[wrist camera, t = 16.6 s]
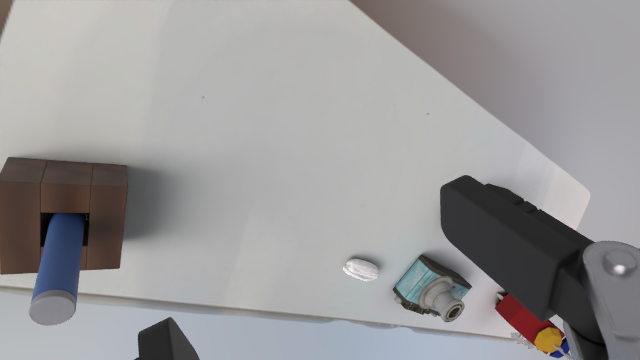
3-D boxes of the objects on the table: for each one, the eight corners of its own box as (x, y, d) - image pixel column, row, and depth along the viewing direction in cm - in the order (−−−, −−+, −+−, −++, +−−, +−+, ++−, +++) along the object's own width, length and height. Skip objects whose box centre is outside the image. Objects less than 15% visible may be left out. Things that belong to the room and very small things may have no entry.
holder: (10, 244, 42) (0, 274, 38) (7, 157, 38) (-5, 181, 34) (119, 242, 47) (119, 268, 43) (126, 165, 43) (127, 186, 39)
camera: (493, 306, 76) (460, 343, 78) (459, 274, 84) (430, 308, 86) (452, 287, 66) (416, 330, 68) (418, 253, 74) (386, 292, 76)
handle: (53, 215, 42) (29, 328, 30) (54, 191, 41) (28, 298, 29) (85, 216, 44) (75, 323, 31) (87, 193, 43) (76, 294, 30)
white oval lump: (368, 275, 71) (376, 286, 68) (337, 266, 66) (345, 277, 64) (378, 262, 70) (386, 272, 68) (347, 252, 65) (355, 263, 63)
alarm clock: (522, 296, 102) (595, 358, 87) (500, 319, 104) (568, 385, 88) (501, 281, 93) (579, 348, 78) (477, 307, 95) (548, 378, 79)
